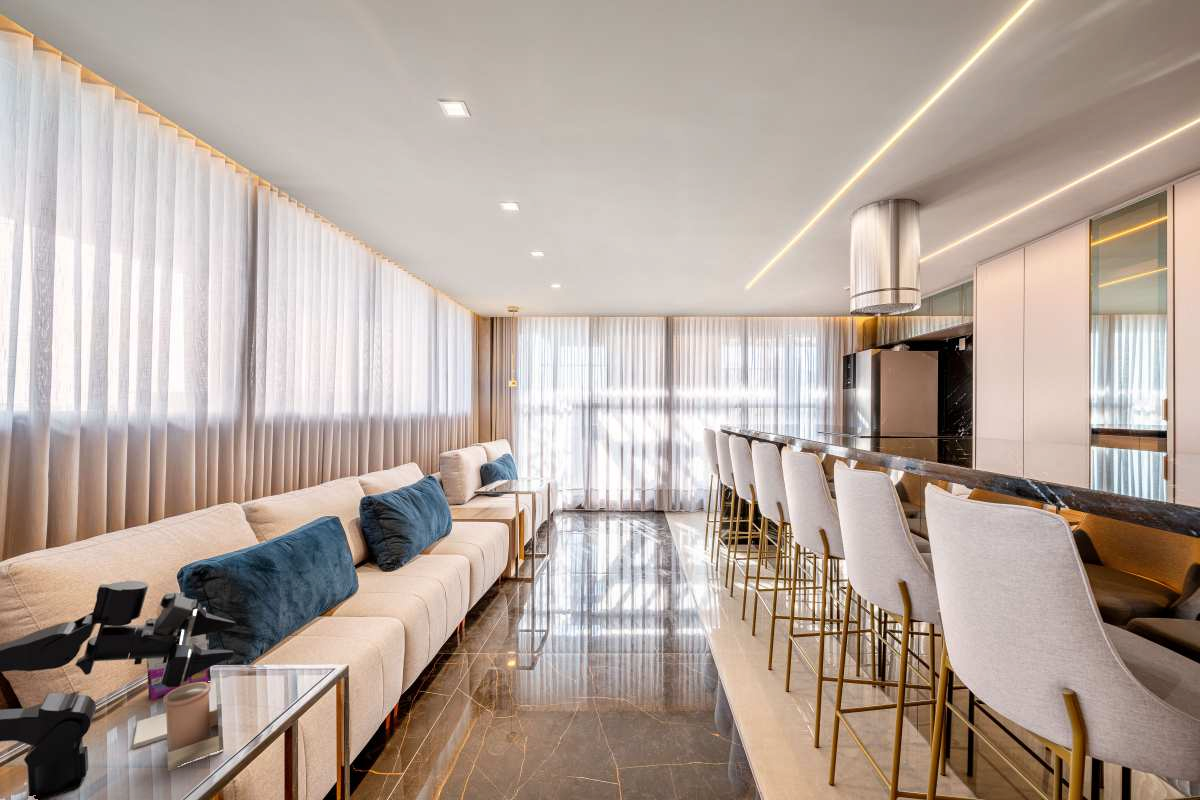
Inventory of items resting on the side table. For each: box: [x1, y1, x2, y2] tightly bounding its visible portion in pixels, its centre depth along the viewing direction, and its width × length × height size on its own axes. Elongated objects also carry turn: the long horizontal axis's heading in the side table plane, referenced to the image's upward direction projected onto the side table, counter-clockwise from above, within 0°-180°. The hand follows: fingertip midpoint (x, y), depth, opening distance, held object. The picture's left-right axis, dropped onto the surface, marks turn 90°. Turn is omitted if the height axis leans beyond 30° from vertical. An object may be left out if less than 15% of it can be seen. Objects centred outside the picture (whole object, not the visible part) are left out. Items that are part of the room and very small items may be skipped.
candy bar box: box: [146, 607, 212, 701], centre depth 122 cm, size 11×5×16 cm, turn 129°
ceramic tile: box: [132, 712, 167, 749], centre depth 107 cm, size 9×9×1 cm
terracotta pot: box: [162, 682, 212, 753], centre depth 101 cm, size 7×7×11 cm
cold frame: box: [167, 677, 224, 772], centre depth 101 cm, size 8×12×9 cm
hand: (234, 638), depth 106 cm, fingers open, 9 cm apart
